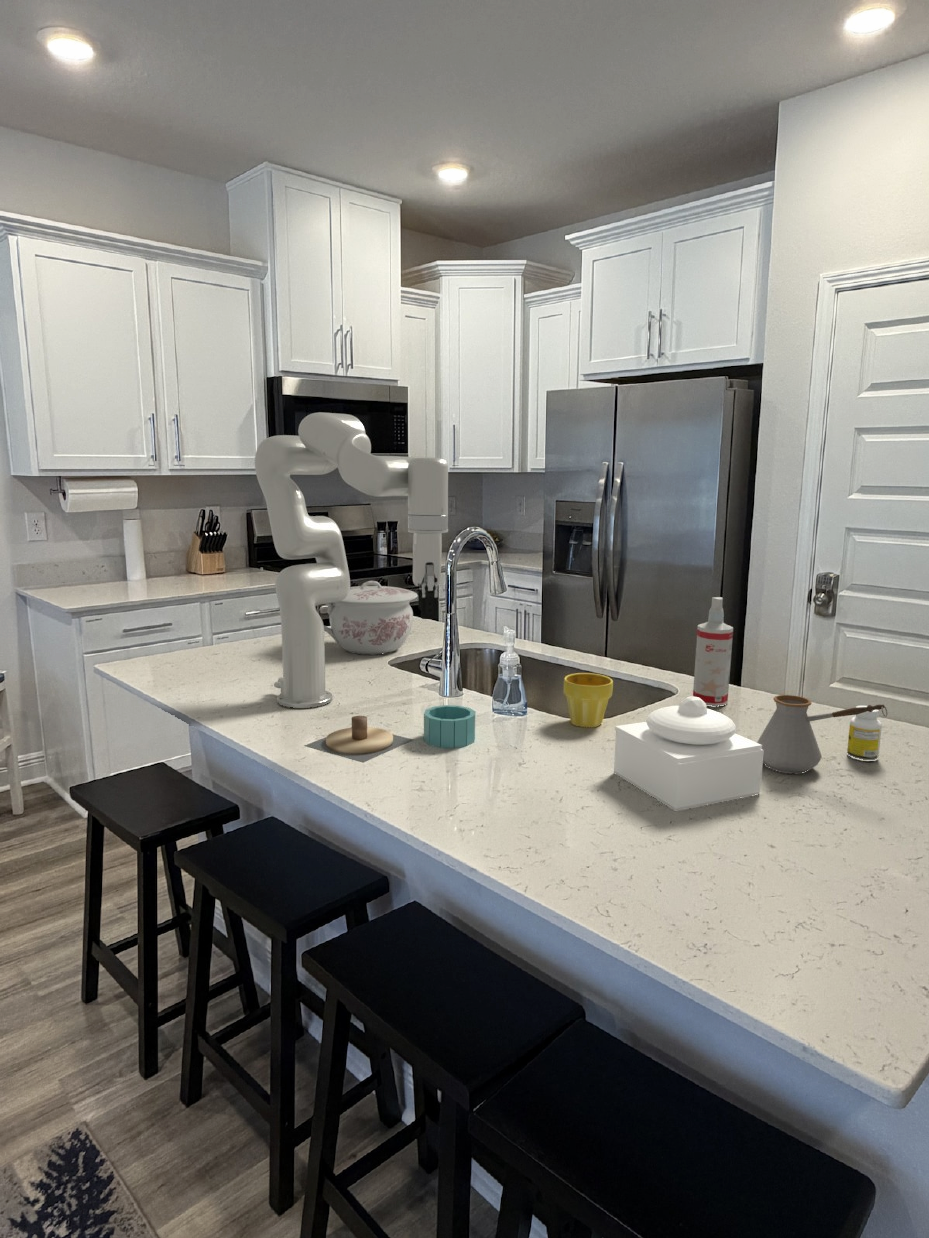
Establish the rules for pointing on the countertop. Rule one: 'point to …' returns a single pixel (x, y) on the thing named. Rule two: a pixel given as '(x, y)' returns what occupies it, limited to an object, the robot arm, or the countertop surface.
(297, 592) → the robot arm
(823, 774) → the countertop surface
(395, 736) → the mat
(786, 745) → the coffee pot
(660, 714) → the white square canister
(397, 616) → the chamber pot
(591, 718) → the plant pot
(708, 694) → the spray bottle
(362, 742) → the lid
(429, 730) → the bowl
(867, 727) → the supplement bottle
